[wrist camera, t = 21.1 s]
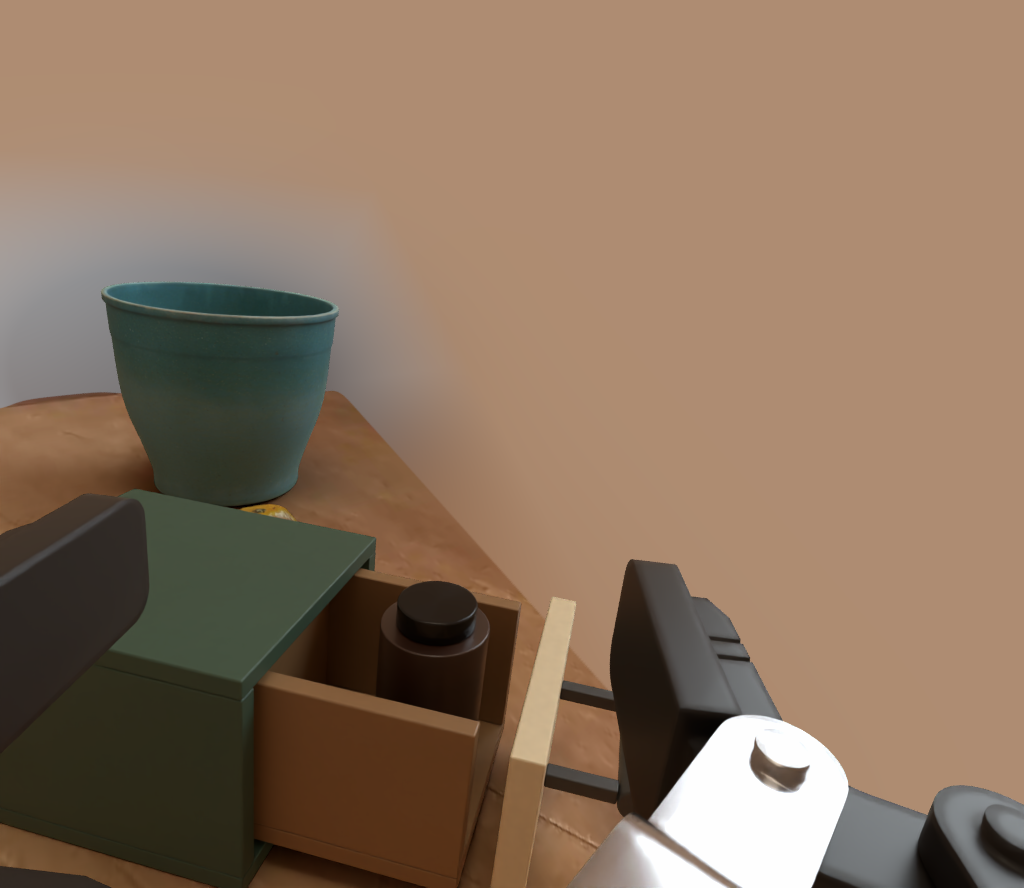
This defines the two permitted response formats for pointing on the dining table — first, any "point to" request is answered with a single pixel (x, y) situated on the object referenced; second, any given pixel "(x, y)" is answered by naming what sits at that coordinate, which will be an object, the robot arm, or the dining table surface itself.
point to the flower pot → (221, 383)
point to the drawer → (409, 747)
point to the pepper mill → (434, 649)
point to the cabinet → (180, 695)
